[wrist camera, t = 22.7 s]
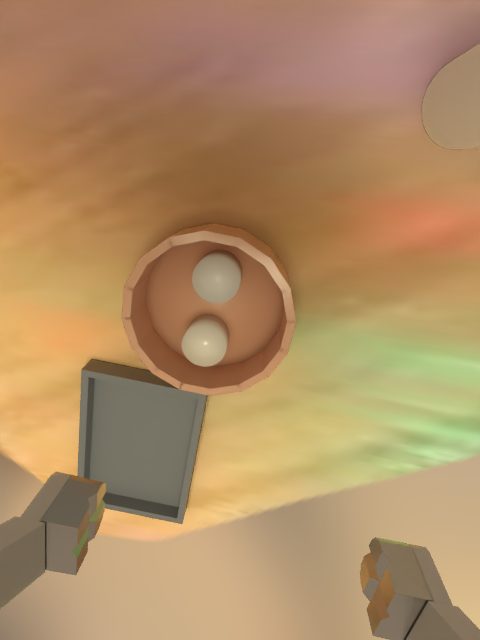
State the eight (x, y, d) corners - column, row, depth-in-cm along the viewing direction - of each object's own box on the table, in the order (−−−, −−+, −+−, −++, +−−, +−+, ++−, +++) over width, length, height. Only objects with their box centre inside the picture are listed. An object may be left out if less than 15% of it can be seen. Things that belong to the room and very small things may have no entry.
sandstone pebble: (185, 348, 41) (179, 361, 38) (190, 310, 39) (184, 321, 36) (225, 356, 41) (222, 370, 38) (232, 318, 39) (229, 330, 36)
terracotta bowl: (135, 352, 42) (116, 376, 37) (149, 209, 37) (129, 215, 31) (272, 380, 42) (272, 408, 37) (308, 242, 37) (314, 253, 31)
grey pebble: (195, 288, 38) (189, 298, 35) (201, 245, 37) (195, 251, 34) (238, 296, 38) (235, 307, 35) (246, 254, 37) (244, 261, 34)
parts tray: (85, 487, 50) (76, 502, 48) (91, 359, 43) (81, 369, 41) (186, 508, 50) (182, 524, 48) (209, 383, 43) (206, 395, 41)
